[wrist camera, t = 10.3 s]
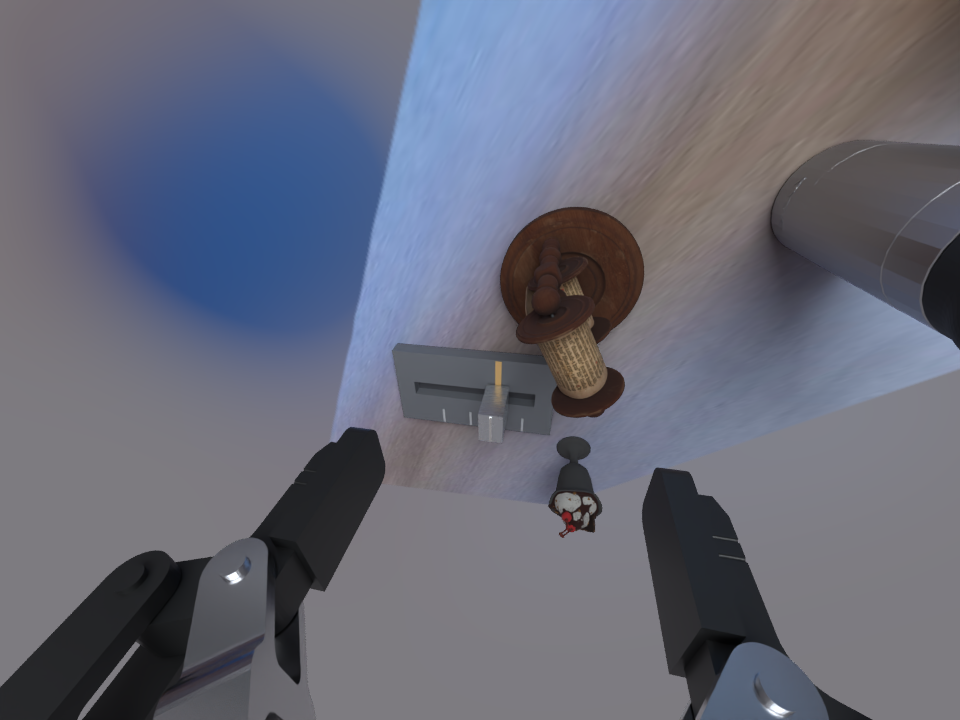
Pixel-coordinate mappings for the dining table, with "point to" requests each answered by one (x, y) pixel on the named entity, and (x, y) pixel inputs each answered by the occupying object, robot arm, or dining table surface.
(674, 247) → the dining table surface
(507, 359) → the slider plate with stripes
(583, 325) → the scroll
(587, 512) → the sundae
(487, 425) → the fader tab
